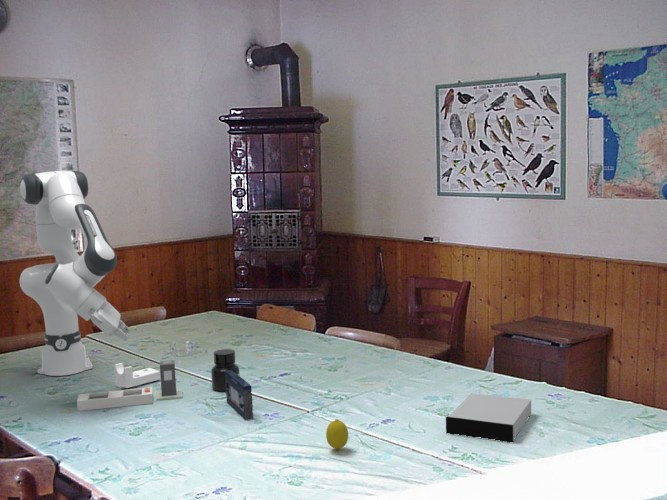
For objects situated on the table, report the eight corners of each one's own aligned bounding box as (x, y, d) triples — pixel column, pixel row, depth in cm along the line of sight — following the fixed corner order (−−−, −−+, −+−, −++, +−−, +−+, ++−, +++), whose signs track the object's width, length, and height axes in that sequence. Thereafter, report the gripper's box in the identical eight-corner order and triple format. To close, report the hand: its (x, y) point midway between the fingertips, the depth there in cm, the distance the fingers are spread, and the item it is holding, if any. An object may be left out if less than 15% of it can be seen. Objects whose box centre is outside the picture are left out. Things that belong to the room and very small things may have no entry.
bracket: (126, 391, 248) (125, 368, 247) (115, 386, 253) (114, 364, 252) (161, 381, 257) (160, 359, 256) (150, 377, 262) (148, 356, 261)
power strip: (77, 410, 229) (76, 399, 228) (79, 403, 235) (79, 392, 235) (152, 403, 233) (152, 392, 233) (153, 396, 240) (152, 385, 240)
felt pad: (156, 392, 244) (156, 391, 244) (181, 390, 245) (181, 388, 245) (156, 400, 236) (156, 398, 236) (182, 398, 238) (182, 396, 237)
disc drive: (445, 435, 201) (445, 417, 200) (470, 408, 221) (470, 392, 220) (512, 444, 193) (512, 425, 192) (532, 416, 213) (532, 399, 212)
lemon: (325, 446, 195) (324, 416, 194) (347, 445, 195) (346, 415, 194) (327, 455, 189) (326, 424, 188) (349, 453, 190) (348, 422, 189)
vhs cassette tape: (226, 402, 232) (224, 370, 231) (235, 401, 233) (234, 369, 232) (243, 421, 216) (241, 387, 214) (253, 419, 217) (252, 385, 215)
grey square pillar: (161, 392, 242) (159, 361, 241) (176, 390, 243) (174, 360, 242) (161, 396, 238) (159, 365, 237) (176, 395, 239) (174, 363, 238)
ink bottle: (246, 387, 246) (244, 351, 245) (225, 394, 240) (223, 357, 238) (227, 382, 253) (225, 346, 251) (205, 388, 246) (203, 352, 245)
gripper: (96, 305, 222) (133, 335, 226) (102, 293, 242) (135, 320, 245) (81, 321, 222) (118, 351, 225) (88, 308, 242) (122, 335, 245)
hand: (127, 335), depth 236 cm, fingers open, 8 cm apart
